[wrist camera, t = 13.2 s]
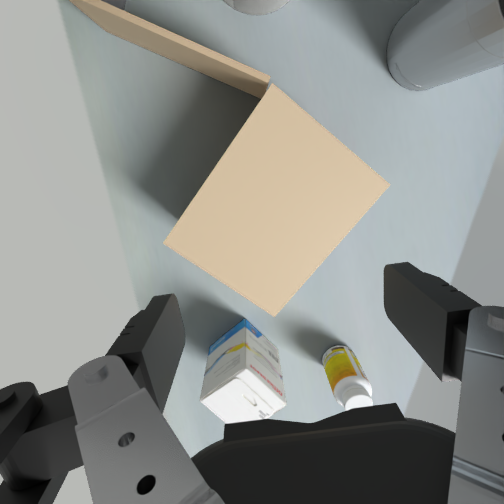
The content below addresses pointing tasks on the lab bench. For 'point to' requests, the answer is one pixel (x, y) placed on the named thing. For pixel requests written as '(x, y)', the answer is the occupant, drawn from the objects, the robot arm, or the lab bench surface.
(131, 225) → the lab bench surface
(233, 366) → the ink box
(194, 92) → the lab bench surface
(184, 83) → the lab bench surface
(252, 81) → the carton flap
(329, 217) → the carton
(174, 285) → the lab bench surface
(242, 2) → the toilet paper roll
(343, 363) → the supplement bottle
